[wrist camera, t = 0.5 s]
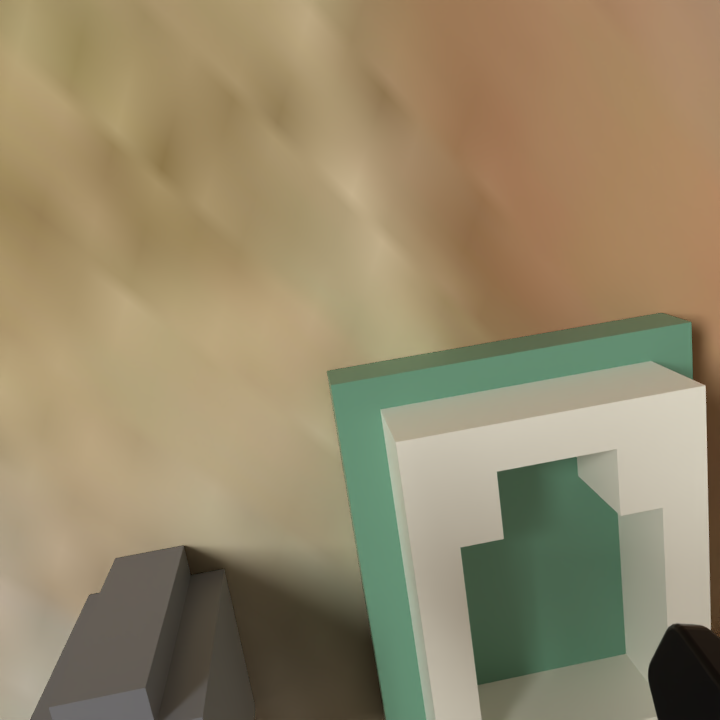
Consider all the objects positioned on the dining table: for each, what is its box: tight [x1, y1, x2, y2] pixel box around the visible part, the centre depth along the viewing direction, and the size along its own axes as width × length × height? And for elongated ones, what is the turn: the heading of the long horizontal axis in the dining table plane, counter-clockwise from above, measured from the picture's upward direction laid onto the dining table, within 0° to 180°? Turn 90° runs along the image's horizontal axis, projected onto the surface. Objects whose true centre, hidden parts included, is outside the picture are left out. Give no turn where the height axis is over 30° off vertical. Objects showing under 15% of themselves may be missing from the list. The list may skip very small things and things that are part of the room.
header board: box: [327, 313, 711, 720], centre depth 19 cm, size 12×10×4 cm
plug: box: [30, 546, 255, 720], centre depth 18 cm, size 6×4×6 cm, turn 8°
